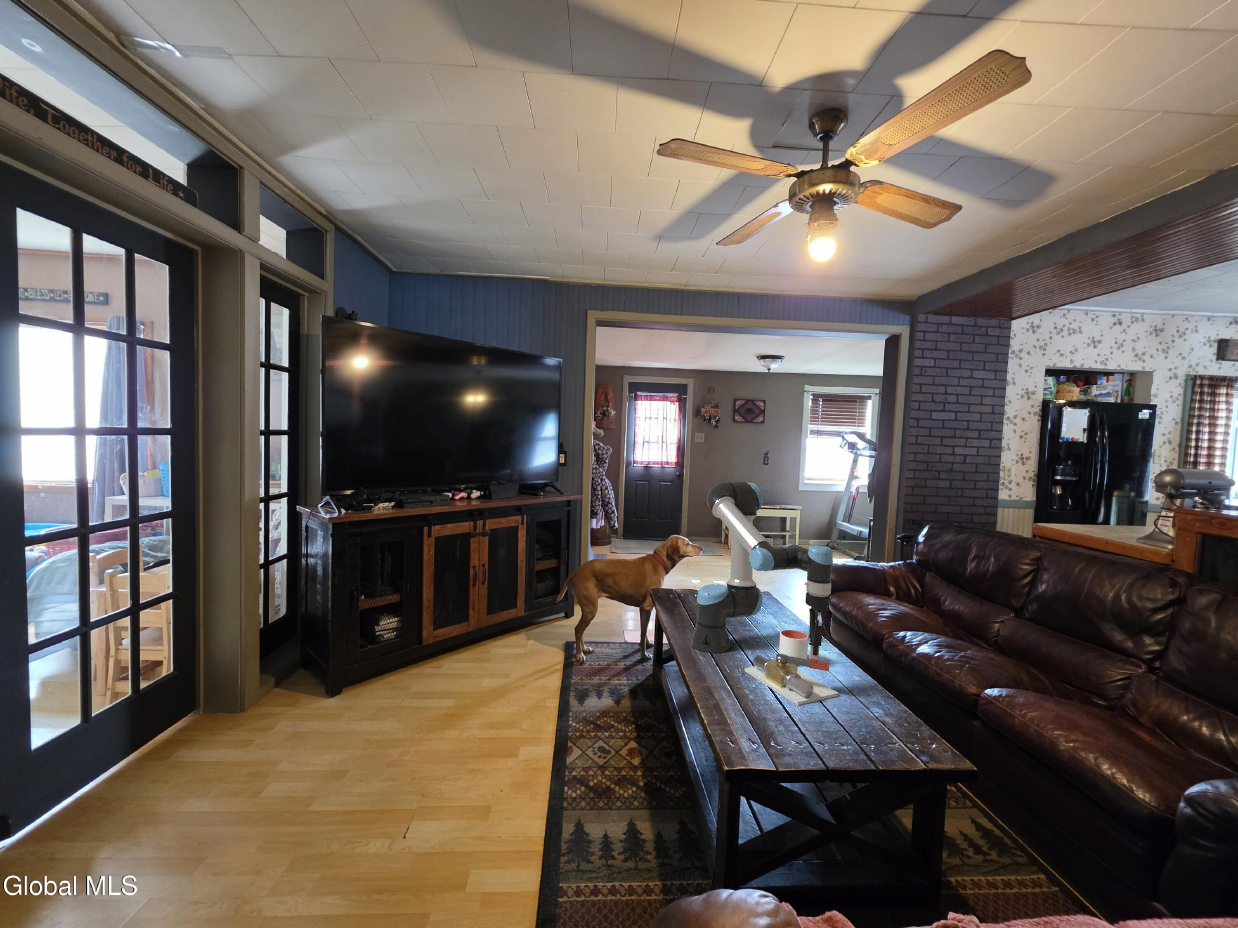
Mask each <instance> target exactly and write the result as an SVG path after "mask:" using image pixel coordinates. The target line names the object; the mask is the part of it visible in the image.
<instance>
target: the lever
mask: <svg viewBox="0 0 1238 928" xmlns="http://www.w3.org/2000/svg"><path fill="white" fill-rule="evenodd" d="M775 660H776V661H777V662H778V663H781V664H787V663H788V664H794V665H796V666H801V667H806V668H809V669H811V670H819V671H824V672H830V662H829V661H825V660H822V659H821V660H820V659H819V660H815V659H810V660H809V659H808V658H807V659H803V658H797V657H791V656H788V655H785V654H779V653H776V656H775Z"/></svg>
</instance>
